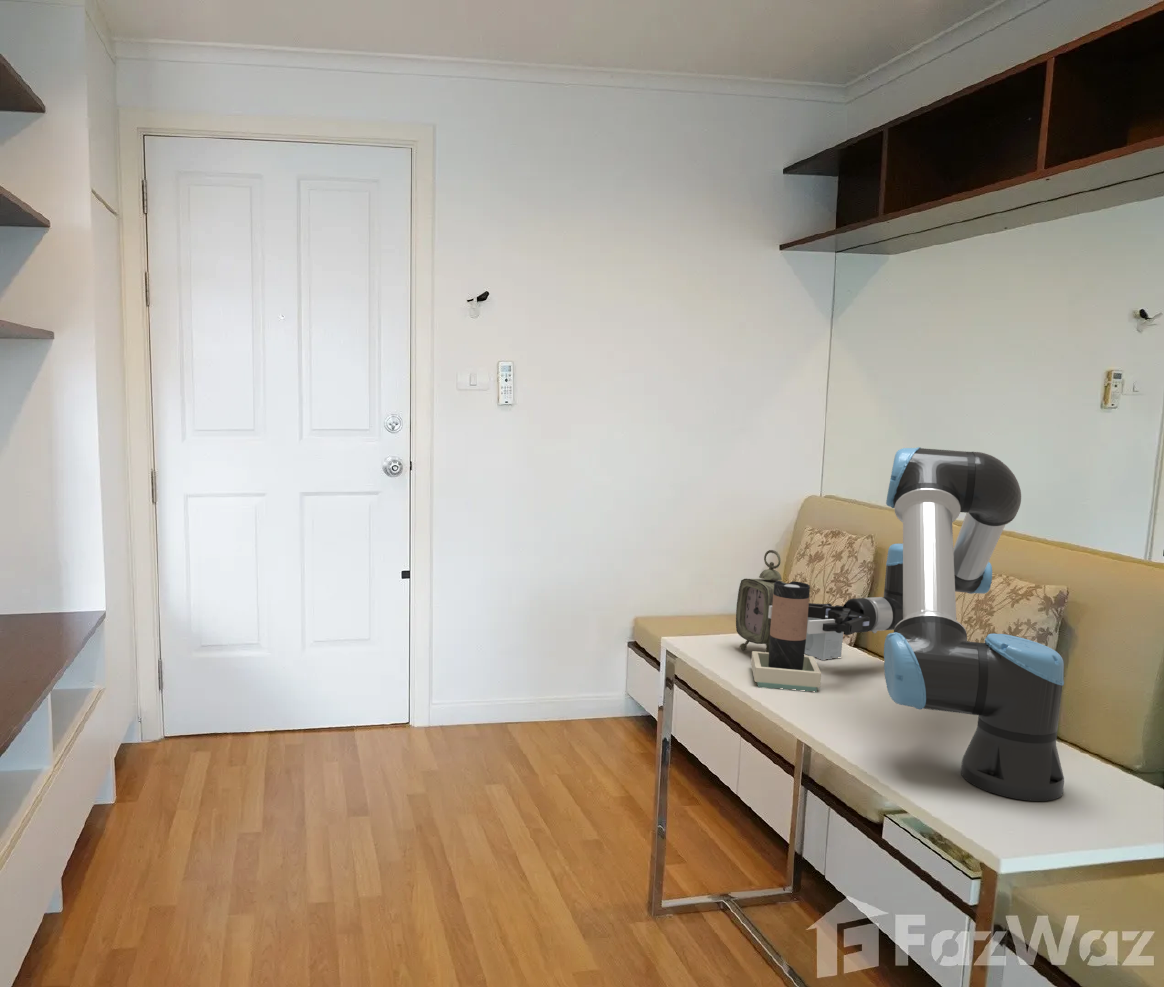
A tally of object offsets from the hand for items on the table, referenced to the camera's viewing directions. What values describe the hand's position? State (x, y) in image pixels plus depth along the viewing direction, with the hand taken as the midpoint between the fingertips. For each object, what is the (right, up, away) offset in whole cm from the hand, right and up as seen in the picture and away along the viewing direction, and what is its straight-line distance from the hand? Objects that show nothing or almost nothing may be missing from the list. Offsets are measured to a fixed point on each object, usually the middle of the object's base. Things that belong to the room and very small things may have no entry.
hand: (788, 619), depth 202 cm
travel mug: (0, -12, +1) cm, 12 cm away
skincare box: (+12, -12, +25) cm, 30 cm away
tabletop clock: (-1, -11, +19) cm, 22 cm away
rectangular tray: (0, -13, +3) cm, 13 cm away
